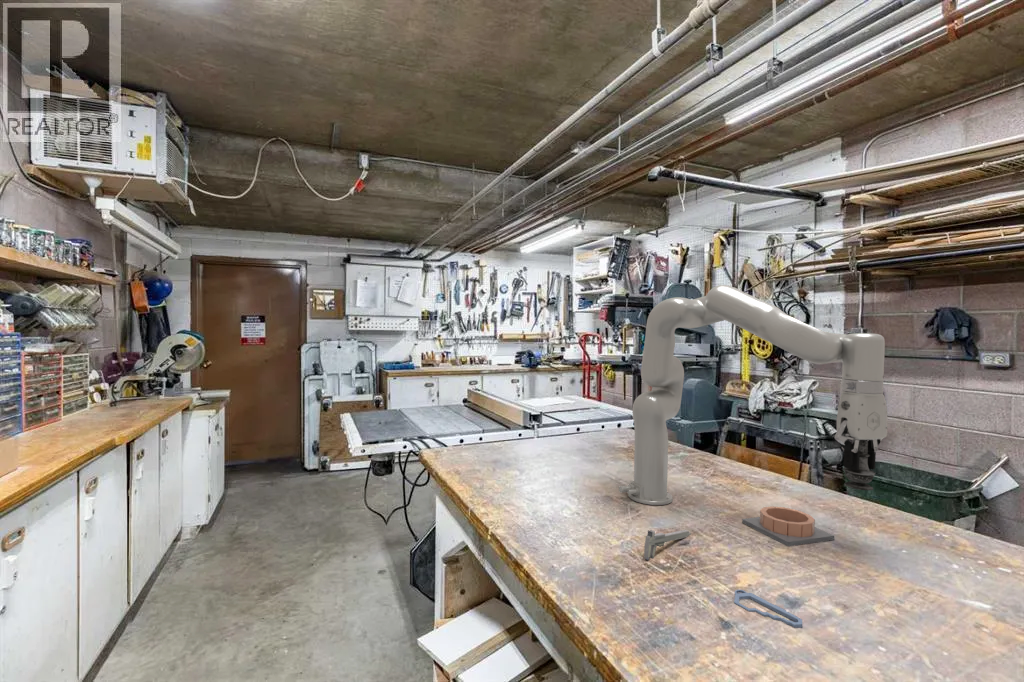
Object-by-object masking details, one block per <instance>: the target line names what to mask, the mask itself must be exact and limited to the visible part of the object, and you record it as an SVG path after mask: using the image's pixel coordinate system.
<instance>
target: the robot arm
mask: <svg viewBox="0 0 1024 682" xmlns="http://www.w3.org/2000/svg"><path fill="white" fill-rule="evenodd" d="M722 321H726V322H728V323H731V324H732V325H735V326H737V327H739V328H741V329H743V330H745V331H747V332H749V333H751V334H752V335H755V336H756V337H758V338H760V339H762V340H764V341H767V342H768V343H770V344H773V345H774V346H777V347H778V348H780V349H782V350H784V351H786V352H788V353H789V354H792V355H794V356H795V357H798V358H799V359H802V360H804V361H806V362H808V363H811V364H814V365H826V364H833V363H842V369H841V371H842V372H841V393H840V396H839V402H838V405H837V413H836V414H837V415H836V433H835V435H834V439H835V440H836V441H837V442H838V443H839V444H840V446H841V449H842V450H843V465H842V466H843V468H848V469H852V470H855V471H858V470H859V456H860V453H857V450H858V445H859V440H867V442H868V453H867V454H868V455H870V456H869V457H868V468H869V469H870V470H875V469H876V459H877V458H876V455H877V451H879V445H880V444H881V442H882V441H883V440H884V439H885V438H887V436H888V427H889V426H888V424H889V423H888V409H887V407H888V406H887V402H886V400H887V399H886V397H885V394H884V377H885V376H884V375H885V372H884V371H885V349H886V344H885V343H886V342H885V341H886V340H885V337H884V336H883V335H881V334H878V333H868V332H867V333H866V332H863V333H861V332H860V333H858V332H857V333H856V332H855V333H854V332H853V333H847V334H844V333H836V332H829V331H825V330H824V331H823V330H821V329H819V328H817V327H814V326H813V325H810V324H809V323H805V322H803V321H801V320H799V319H797V318H795V317H792V316H790V315H789V314H787V313H786V312H784V311H782V309H780V308H779V307H778V306H776V305H774V304H772V303H770V302H768V301H765V300H762V299H760V298H757V297H755V296H754V295H751V294H749V293H746V292H744V291H742V290H741V289H739V288H738V287H737V288H736V287H734V286H731V285H727V284H718V285H716V286H714V287H712V288H711V289H710V290H709V291H708V292H707V294H706V295H704V296H701V297H697V298H694V299H692V298H691V299H690V298H686V297H679V296H678V297H670V298H667V299H664V300H662V301H660V302H658V303H657V304H655V306H654V307H653V308H652V310H651V311H650V313H649V314H648V316H647V319H646V327H645V335H644V336H645V338H644V343H643V344H644V346H643V351H642V360H641V361H642V362H641V367H640V368H641V369H640V376H641V380H642V382H643V383H644V384H645V385H646V386H648V387H651V390H647V391H645V392H643V393H640V394H639V395H638V396H637V397H636V398H635V399H634V401H633V403H632V404H633V405H632V419H633V427H634V459H633V460H634V461H633V463H634V464H633V465H634V466H633V480H630V483H629V484H628V485H619V486H618V492H619V493H620V494H623V493H627V496H628V497H629V499H630V500H632V501H634V502H637V503H640V504H643V505H651V506H663V505H664V506H666V505H669V504H671V503H672V502H673V499H674V498H673V497H674V496H673V495H672V494H671V493H670V492H668V468H669V467H668V466H669V433H668V428H667V427H668V426H667V421H668V420H670V419H673V418H675V417H676V416H677V415H678V414H679V411H680V408H681V405H682V395H683V386H684V379H685V369H684V366H683V363H682V361H681V360H680V358H678V357H677V356H675V348H676V347H675V346H676V337H675V335H676V334H675V331H676V330H677V329H679V328H683V329H696V328H700V327H705V326H708V325H712V324H716V323H719V322H722ZM851 441H852V442H853V443H852V442H851Z"/></svg>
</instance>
